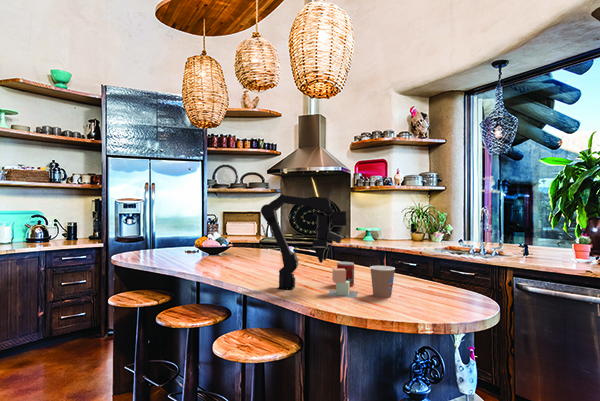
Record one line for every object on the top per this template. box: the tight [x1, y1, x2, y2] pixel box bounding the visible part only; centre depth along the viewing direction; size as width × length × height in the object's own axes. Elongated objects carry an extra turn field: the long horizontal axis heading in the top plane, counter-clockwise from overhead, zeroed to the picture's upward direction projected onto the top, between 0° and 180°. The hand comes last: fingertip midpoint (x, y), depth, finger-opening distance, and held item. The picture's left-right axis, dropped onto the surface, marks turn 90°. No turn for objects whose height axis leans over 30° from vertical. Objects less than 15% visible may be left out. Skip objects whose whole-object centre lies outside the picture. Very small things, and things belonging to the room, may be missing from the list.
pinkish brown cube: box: [331, 267, 346, 284], centre depth 153 cm, size 5×5×5 cm
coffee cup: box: [369, 265, 396, 299], centre depth 151 cm, size 10×10×12 cm
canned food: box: [336, 261, 355, 288], centre depth 170 cm, size 8×8×11 cm
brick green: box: [335, 281, 351, 295], centre depth 153 cm, size 5×5×5 cm
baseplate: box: [326, 289, 359, 299], centre depth 153 cm, size 12×12×1 cm
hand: (322, 261), depth 163 cm, fingers open, 9 cm apart
